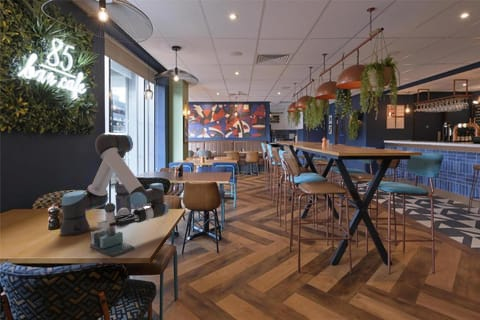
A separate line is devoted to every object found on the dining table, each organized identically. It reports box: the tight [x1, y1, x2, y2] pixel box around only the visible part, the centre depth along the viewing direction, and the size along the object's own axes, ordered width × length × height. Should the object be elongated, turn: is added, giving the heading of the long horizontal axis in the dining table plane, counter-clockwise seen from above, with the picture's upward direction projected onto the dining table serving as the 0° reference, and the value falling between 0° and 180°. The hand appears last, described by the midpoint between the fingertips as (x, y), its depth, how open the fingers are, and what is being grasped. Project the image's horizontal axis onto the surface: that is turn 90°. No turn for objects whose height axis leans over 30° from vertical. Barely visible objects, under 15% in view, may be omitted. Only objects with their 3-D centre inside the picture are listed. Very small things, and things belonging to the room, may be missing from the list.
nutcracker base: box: [89, 228, 135, 259], centre depth 133 cm, size 22×11×8 cm, turn 54°
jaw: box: [100, 202, 124, 249], centre depth 133 cm, size 5×10×21 cm, turn 144°
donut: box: [116, 208, 129, 216], centre depth 174 cm, size 10×4×10 cm, turn 160°
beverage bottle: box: [114, 180, 132, 215], centre depth 195 cm, size 10×13×25 cm
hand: (99, 225), depth 128 cm, fingers closed on jaw, 4 cm apart
